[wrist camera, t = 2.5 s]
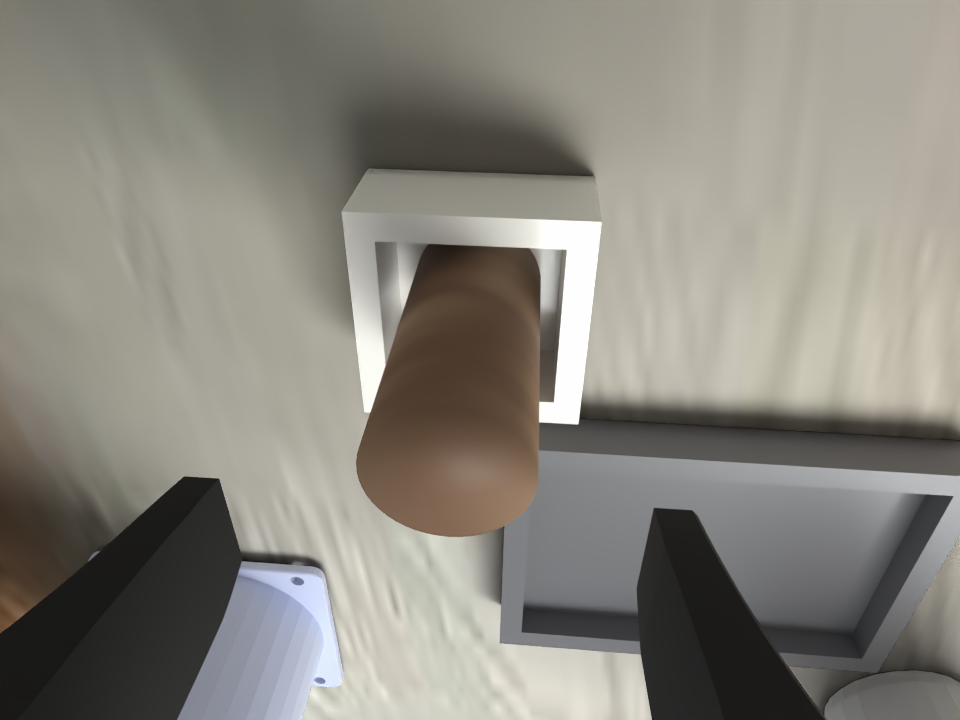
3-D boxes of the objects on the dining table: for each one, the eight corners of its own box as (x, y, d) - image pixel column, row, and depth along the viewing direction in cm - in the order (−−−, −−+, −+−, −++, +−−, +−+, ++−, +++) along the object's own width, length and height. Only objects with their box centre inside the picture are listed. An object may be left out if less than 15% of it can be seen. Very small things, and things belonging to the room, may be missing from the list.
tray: (502, 607, 28) (499, 643, 27) (509, 414, 22) (507, 448, 21) (861, 634, 27) (877, 673, 26) (966, 441, 21) (994, 478, 20)
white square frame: (384, 354, 21) (364, 412, 19) (368, 168, 18) (341, 211, 16) (575, 363, 21) (578, 424, 19) (594, 176, 18) (601, 221, 15)
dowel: (419, 330, 20) (364, 531, 14) (413, 220, 18) (347, 398, 12) (536, 335, 20) (533, 542, 14) (544, 225, 18) (543, 409, 12)
